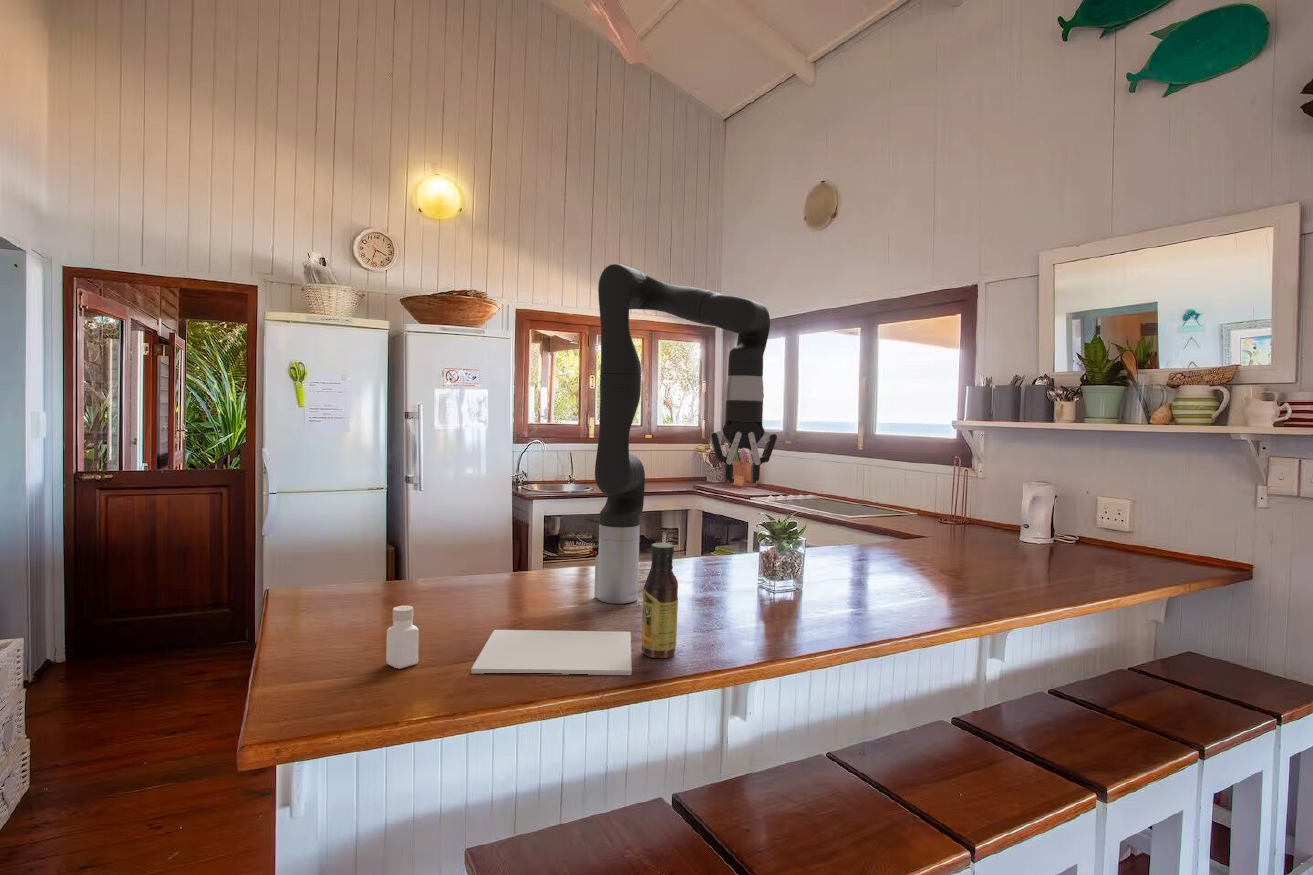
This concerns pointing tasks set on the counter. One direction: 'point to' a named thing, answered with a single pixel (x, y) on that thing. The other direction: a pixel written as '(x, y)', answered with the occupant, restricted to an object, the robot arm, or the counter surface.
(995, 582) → the counter surface
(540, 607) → the counter surface
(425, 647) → the counter surface
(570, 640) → the cutting mat
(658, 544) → the sauce bottle
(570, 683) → the counter surface
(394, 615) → the white pill bottle
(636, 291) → the robot arm
